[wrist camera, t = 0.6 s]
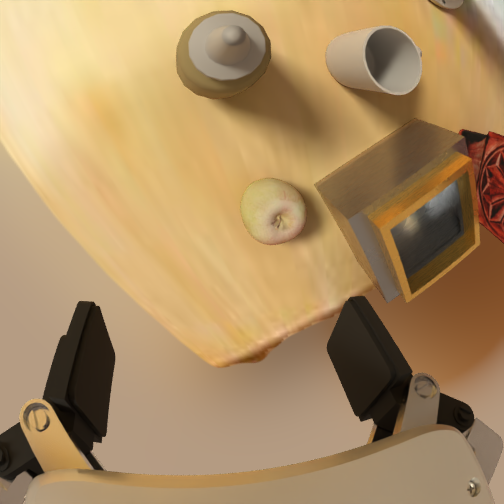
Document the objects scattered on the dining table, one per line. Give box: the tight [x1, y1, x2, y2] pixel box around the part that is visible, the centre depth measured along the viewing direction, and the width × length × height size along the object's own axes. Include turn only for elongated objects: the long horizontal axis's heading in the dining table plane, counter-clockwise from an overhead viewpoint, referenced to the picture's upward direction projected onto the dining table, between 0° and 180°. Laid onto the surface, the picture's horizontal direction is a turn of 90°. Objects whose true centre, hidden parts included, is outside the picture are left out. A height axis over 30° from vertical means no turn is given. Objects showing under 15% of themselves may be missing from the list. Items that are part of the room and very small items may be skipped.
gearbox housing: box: [314, 119, 480, 303], centre depth 32 cm, size 18×16×12 cm
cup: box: [326, 26, 422, 95], centre depth 23 cm, size 7×10×9 cm
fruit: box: [240, 178, 307, 245], centre depth 32 cm, size 8×7×8 cm
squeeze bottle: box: [176, 11, 271, 99], centre depth 18 cm, size 8×8×18 cm
